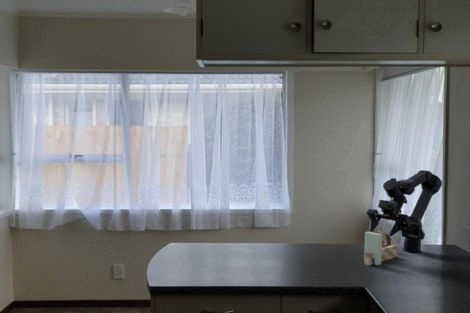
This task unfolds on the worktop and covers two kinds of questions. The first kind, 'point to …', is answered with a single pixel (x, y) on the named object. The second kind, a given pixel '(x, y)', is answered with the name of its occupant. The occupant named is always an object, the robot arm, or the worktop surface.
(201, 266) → the worktop surface
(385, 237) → the tin
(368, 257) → the beige long bar piece
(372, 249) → the sage block
